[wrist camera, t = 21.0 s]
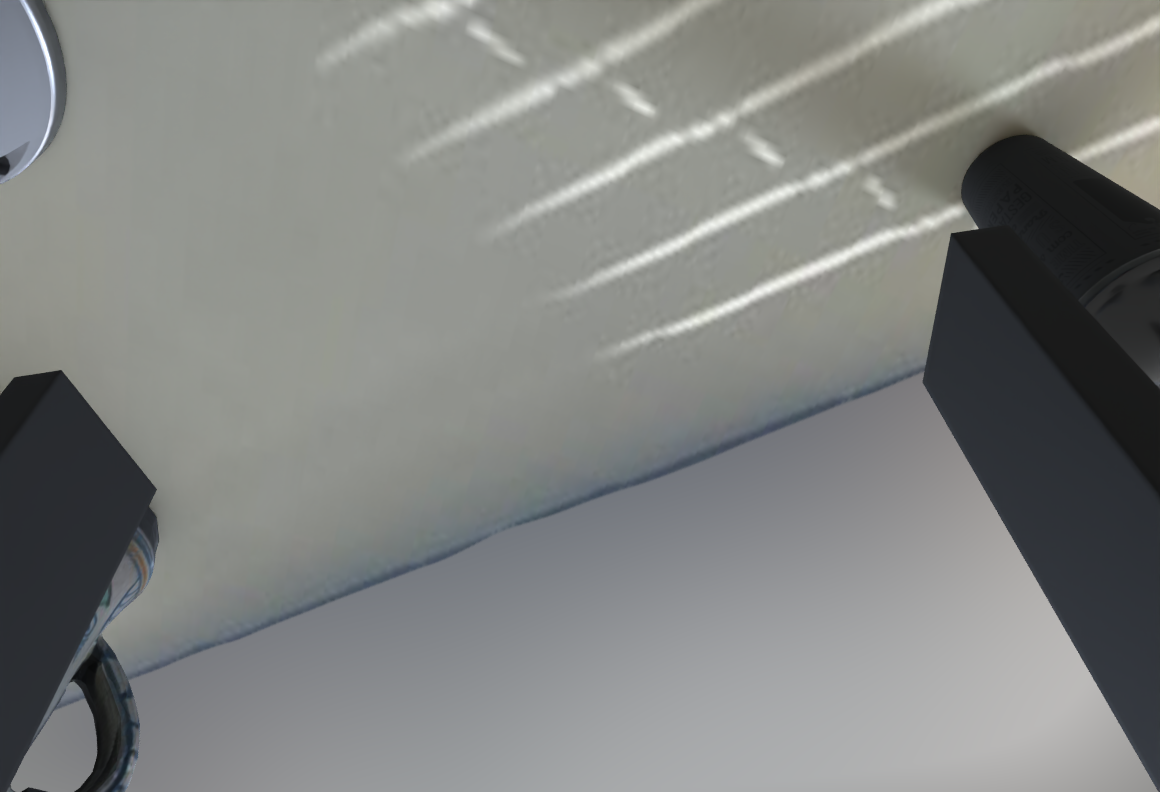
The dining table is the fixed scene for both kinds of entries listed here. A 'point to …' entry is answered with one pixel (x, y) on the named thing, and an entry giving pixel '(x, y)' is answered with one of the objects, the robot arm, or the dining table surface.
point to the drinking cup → (1078, 235)
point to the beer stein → (111, 671)
